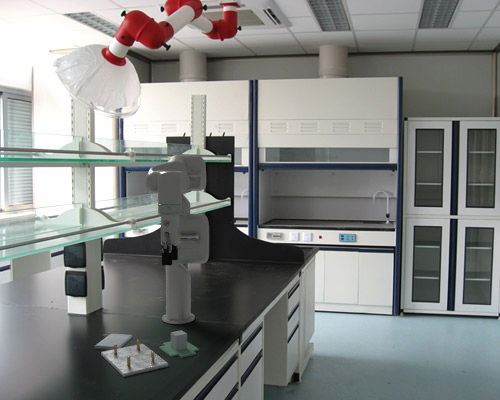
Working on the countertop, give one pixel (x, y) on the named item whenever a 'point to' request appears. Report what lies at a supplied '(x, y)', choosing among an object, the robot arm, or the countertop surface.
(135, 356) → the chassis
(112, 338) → the hard drive
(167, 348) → the board
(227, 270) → the countertop surface
